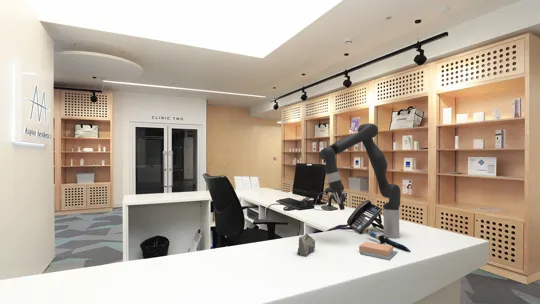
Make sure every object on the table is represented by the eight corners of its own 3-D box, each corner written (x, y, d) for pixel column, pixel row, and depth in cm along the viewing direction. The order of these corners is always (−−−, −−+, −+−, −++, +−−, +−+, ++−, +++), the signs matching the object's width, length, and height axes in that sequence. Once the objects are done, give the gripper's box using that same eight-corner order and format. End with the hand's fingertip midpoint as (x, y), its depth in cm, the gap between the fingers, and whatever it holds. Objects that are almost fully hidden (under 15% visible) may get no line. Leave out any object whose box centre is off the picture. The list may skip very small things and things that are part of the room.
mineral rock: (313, 248, 147) (313, 229, 148) (324, 254, 138) (324, 234, 138) (291, 251, 143) (291, 231, 143) (301, 257, 133) (301, 236, 133)
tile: (365, 241, 149) (393, 246, 140) (365, 247, 149) (393, 252, 140) (359, 245, 141) (387, 251, 133) (359, 251, 141) (387, 257, 132)
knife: (365, 236, 168) (366, 229, 168) (369, 235, 169) (370, 228, 169) (406, 257, 140) (407, 248, 140) (411, 256, 141) (411, 248, 141)
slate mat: (370, 247, 150) (370, 246, 150) (397, 252, 141) (397, 251, 141) (360, 254, 138) (360, 253, 138) (389, 260, 129) (389, 259, 129)
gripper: (346, 177, 156) (355, 207, 154) (332, 180, 168) (340, 208, 166) (336, 180, 153) (345, 211, 150) (322, 183, 164) (330, 211, 162)
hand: (342, 209), depth 158 cm, fingers closed
